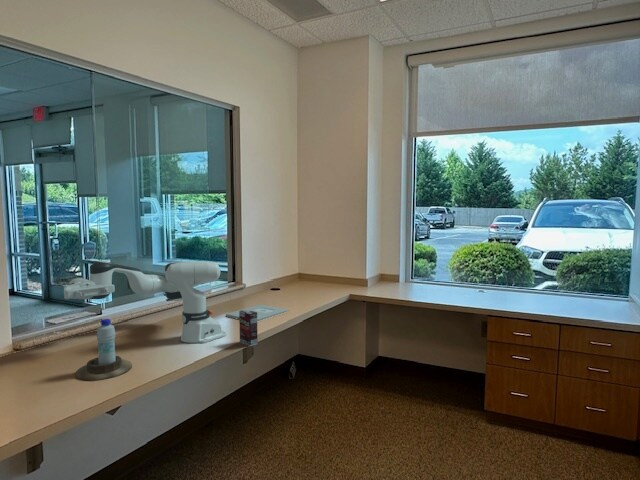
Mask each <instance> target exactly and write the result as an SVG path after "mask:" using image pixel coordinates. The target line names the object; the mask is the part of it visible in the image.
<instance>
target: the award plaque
mask: <svg viewBox="0 0 640 480" xmlns="http://www.w3.org/2000/svg"><path fill="white" fill-rule="evenodd" d="M246 309H247V310H250V311H254V312H257V321H260V320H263V319H266V318H269V317H272V316H275V315H278V314H281V313H284V312H287V311H289V312H290V310H289V309H286V308H280V307H275V306H269V305H264V304H257V305H254V306H251V307H246V308H242V309H239V310H236V311H231V312H228V313H225V317H226V316H228V317H227V318H229V317H232V318H231V319H234V318H237V319H236V320H239V311H242V310H246ZM260 322H261V321H260Z"/></svg>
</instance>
